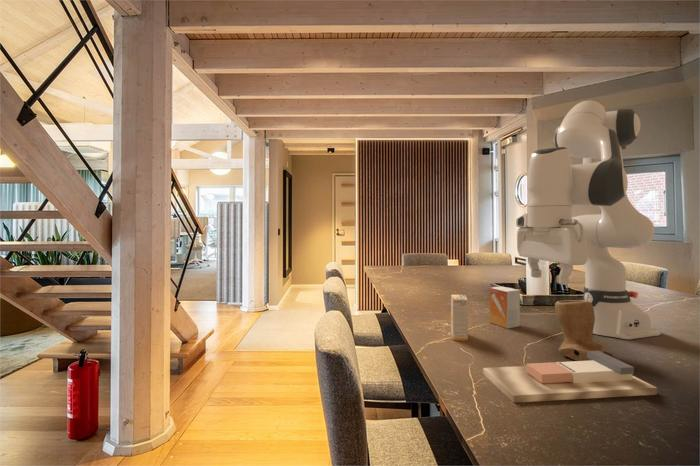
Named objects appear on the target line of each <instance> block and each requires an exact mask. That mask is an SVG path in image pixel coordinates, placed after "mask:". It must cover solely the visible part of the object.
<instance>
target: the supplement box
mask: <svg viewBox="0 0 700 466" xmlns="http://www.w3.org/2000/svg"><path fill="white" fill-rule="evenodd" d="M468 304H469V300H468V298H467V296H466V294H451V295H450V333H451V337H452V340H453V341H462V342H463V341H464V342H467V341H469V305H468Z"/></svg>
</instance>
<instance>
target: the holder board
mask: <svg viewBox="0 0 700 466" xmlns="http://www.w3.org/2000/svg"><path fill="white" fill-rule="evenodd" d="M482 368H483V369H482V374H483V376H484V377H486V379H488V380H489V381H490V383H492V384H493V385H494V386H495V387H496V388H497V389H498V390H500V392H501V393H503V394H504V396H506V397H507V399H509V400H510V401H511V402H512V403H531V402H549V401H565V400H566V401H569V400H584V399H600V398H601V399H602V398H620V397H635V396H636V397H637V396H638V397H639V396H655V395H657V394H658V387H657V386H654V385H652V384H651V383H648V382H646V381H644V380H642V379H641V378H639V377H636V376H634V374H632V380H621V381H602V382H583V383H572V382H558V383H541V382H539V381H538V380H536V379H535V378H534V377H532V376H531V375H530V374H528V373H527V372H526V365H518V366H517V365H516V366H500V367H498V366H497V367H482Z"/></svg>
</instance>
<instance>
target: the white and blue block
mask: <svg viewBox="0 0 700 466" xmlns="http://www.w3.org/2000/svg"><path fill="white" fill-rule="evenodd" d="M587 357H588V358H590V359H592V360H591V361H577V360H573V361H556V362H555V363H557V364H558V365H560V366H561V367H563V368H565V369H566V370H568V371H570V372H571V373H572V383H583V382H602V381H621V380H632V375H634V374H635V366H633V365H630V364H628V363H626V362H624V361H622V360H621V359H618V358H615V357H613V356H612V355H609V354H606V353H605V352H600V351H587Z"/></svg>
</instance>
